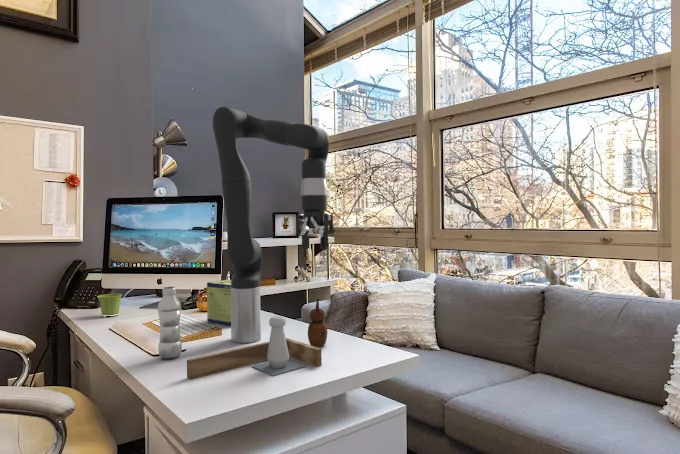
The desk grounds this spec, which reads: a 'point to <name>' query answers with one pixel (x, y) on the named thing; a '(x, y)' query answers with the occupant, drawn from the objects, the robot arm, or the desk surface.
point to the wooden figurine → (317, 327)
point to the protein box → (219, 302)
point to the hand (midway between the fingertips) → (314, 249)
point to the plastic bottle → (169, 324)
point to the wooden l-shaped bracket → (249, 358)
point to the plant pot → (109, 303)
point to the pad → (276, 371)
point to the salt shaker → (277, 343)
